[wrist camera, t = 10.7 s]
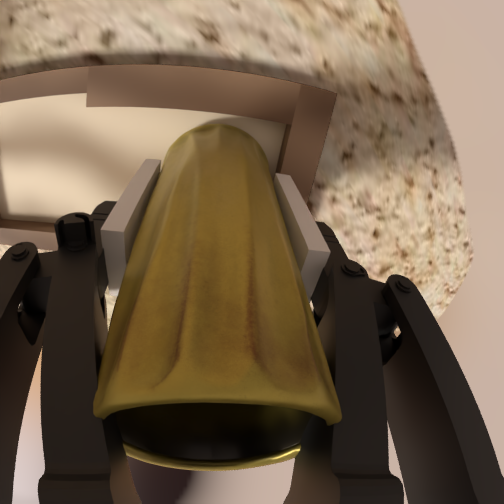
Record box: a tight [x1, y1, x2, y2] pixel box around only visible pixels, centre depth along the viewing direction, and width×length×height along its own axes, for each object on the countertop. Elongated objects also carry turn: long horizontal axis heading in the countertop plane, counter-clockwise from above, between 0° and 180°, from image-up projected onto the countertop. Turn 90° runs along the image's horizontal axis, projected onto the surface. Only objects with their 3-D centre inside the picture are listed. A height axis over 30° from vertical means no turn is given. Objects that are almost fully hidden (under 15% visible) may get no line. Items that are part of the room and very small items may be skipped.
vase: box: [93, 124, 342, 471], centre depth 11 cm, size 6×6×14 cm
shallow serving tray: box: [0, 64, 337, 251], centre depth 15 cm, size 12×23×2 cm, turn 80°
